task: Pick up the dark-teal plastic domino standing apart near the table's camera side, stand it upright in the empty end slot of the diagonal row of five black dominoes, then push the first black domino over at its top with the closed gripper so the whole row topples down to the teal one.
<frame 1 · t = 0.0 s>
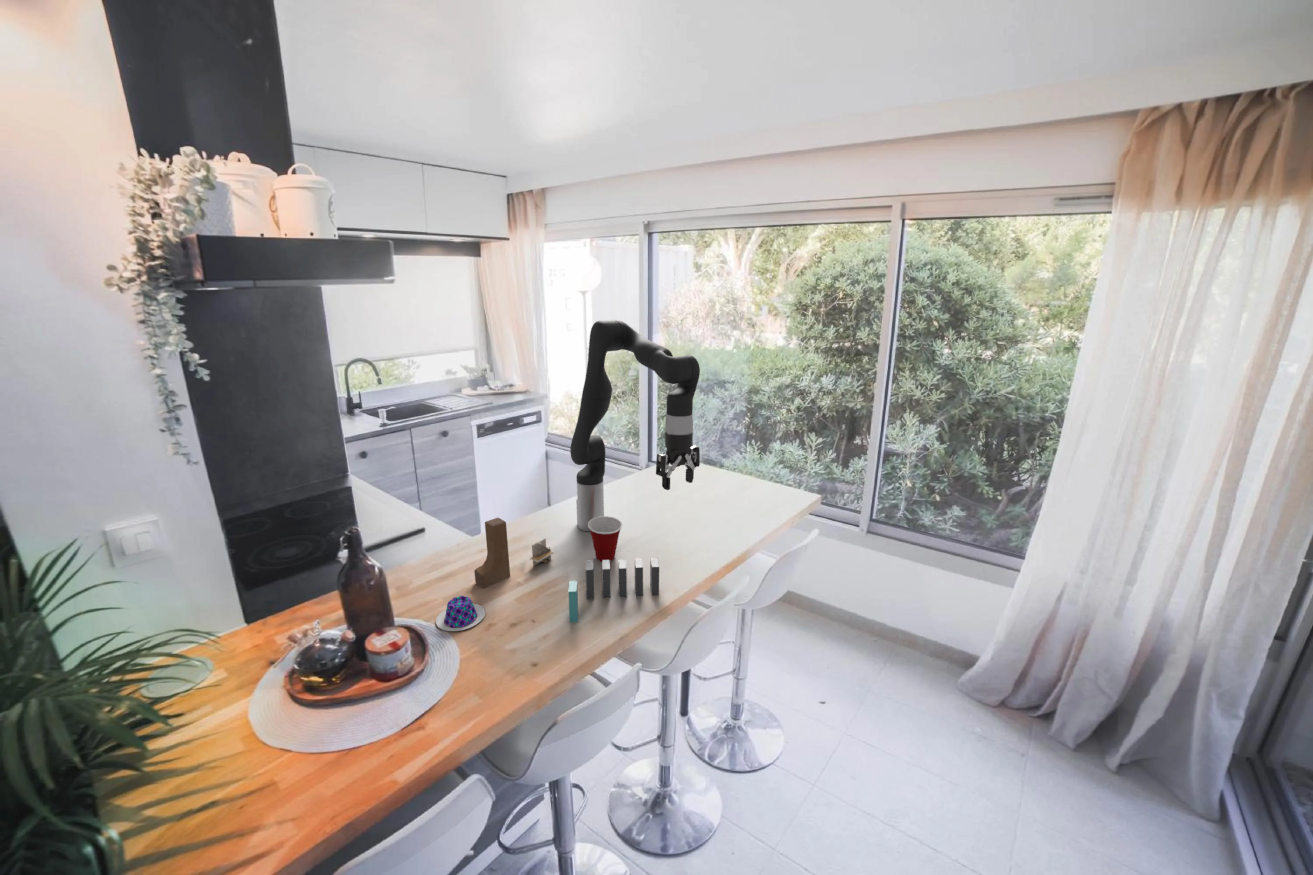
hand: (677, 485, 150), 29 cm above the breakfast bar, fingers open, 8 cm apart
wooden block: (493, 580, 156), on the breakfast bar
domino 5: (590, 593, 150), on the breakfast bar
domino 4: (606, 593, 150), on the breakfast bar
architectural model: (542, 564, 166), on the breakfast bar
plastic cup: (605, 558, 169), on the breakfast bar
domino 1: (654, 590, 151), on the breakfast bar
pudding: (461, 619, 139), on the breakfast bar
domino 2: (638, 591, 151), on the breakfast bar
domino 3: (622, 592, 150), on the breakfast bar
domino 6: (574, 616, 140), on the breakfast bar
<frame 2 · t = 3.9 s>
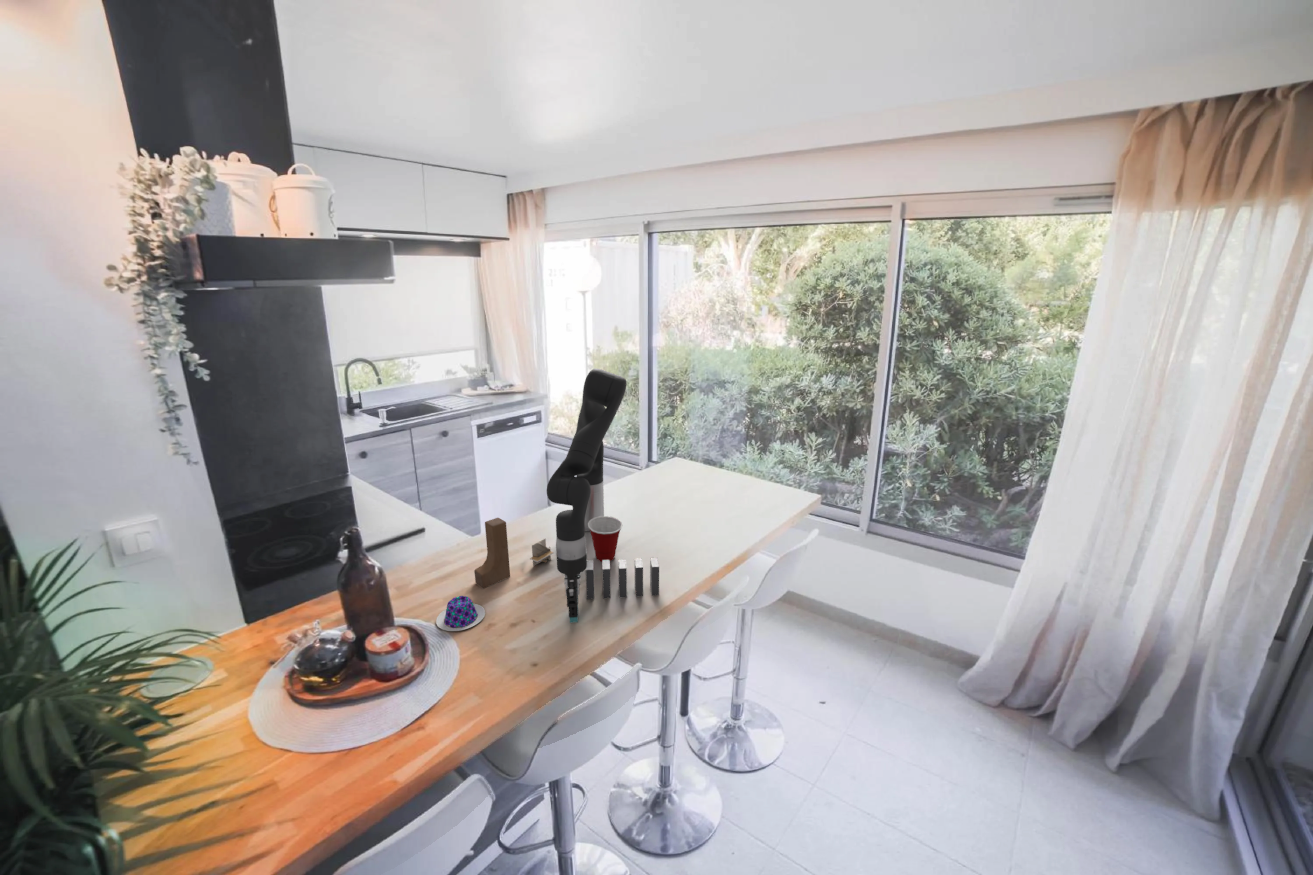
hand: (573, 609, 139), 2 cm above the breakfast bar, fingers closed on domino 6, 5 cm apart
domino 6: (574, 616, 139), on the breakfast bar, touching gripper
everything else where it was.
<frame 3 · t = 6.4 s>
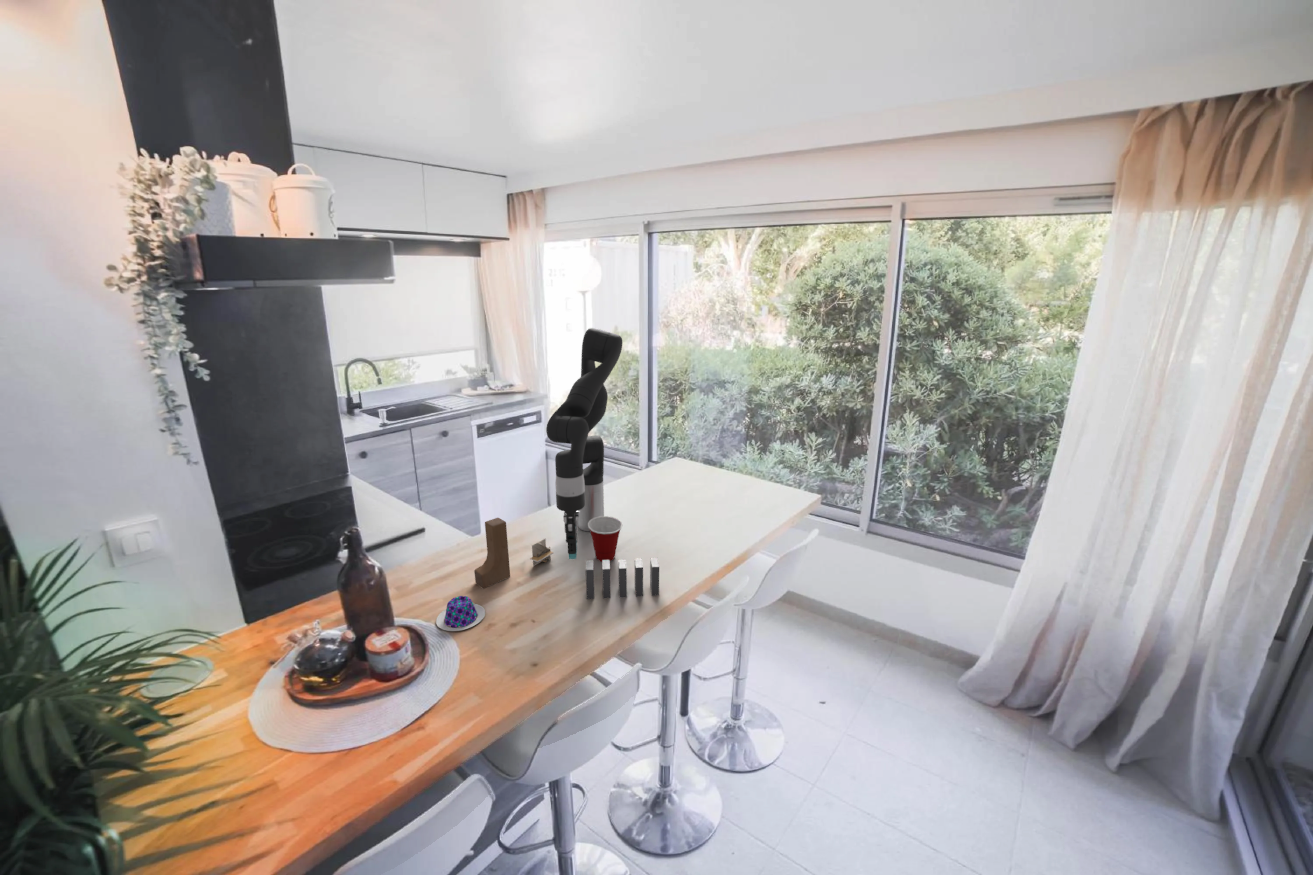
hand: (572, 548, 145), 14 cm above the breakfast bar, fingers closed on domino 6, 5 cm apart
domino 6: (572, 554, 146), point 12 cm above the breakfast bar, touching gripper
everything else where it was.
when the fingers open (3 cm above the breakfast bar, at t = 8.9 s): domino 6 stays where it is, on the breakfast bar.
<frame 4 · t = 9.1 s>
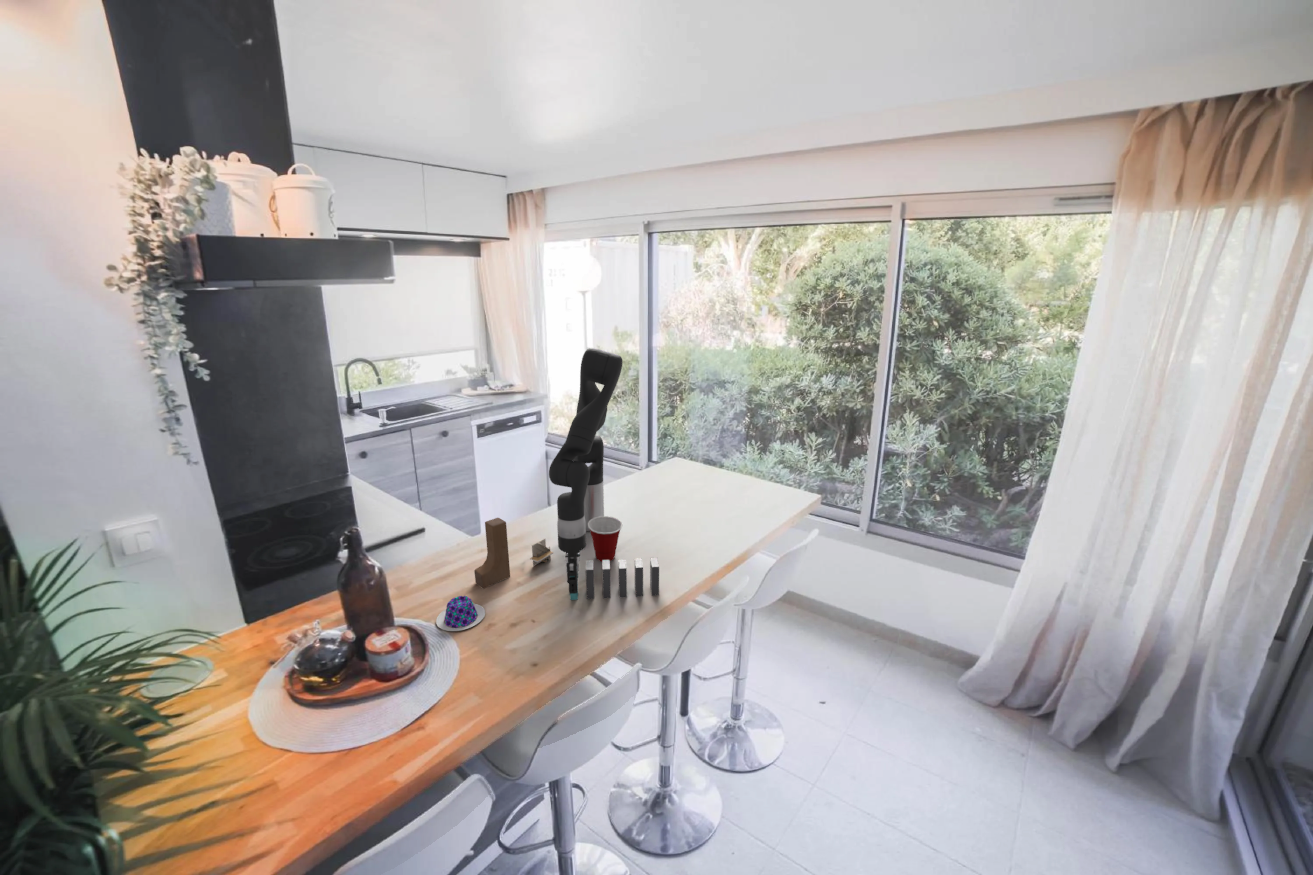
hand: (573, 585, 148), 3 cm above the breakfast bar, fingers open, 7 cm apart
domino 6: (574, 594, 149), on the breakfast bar
everything else where it was.
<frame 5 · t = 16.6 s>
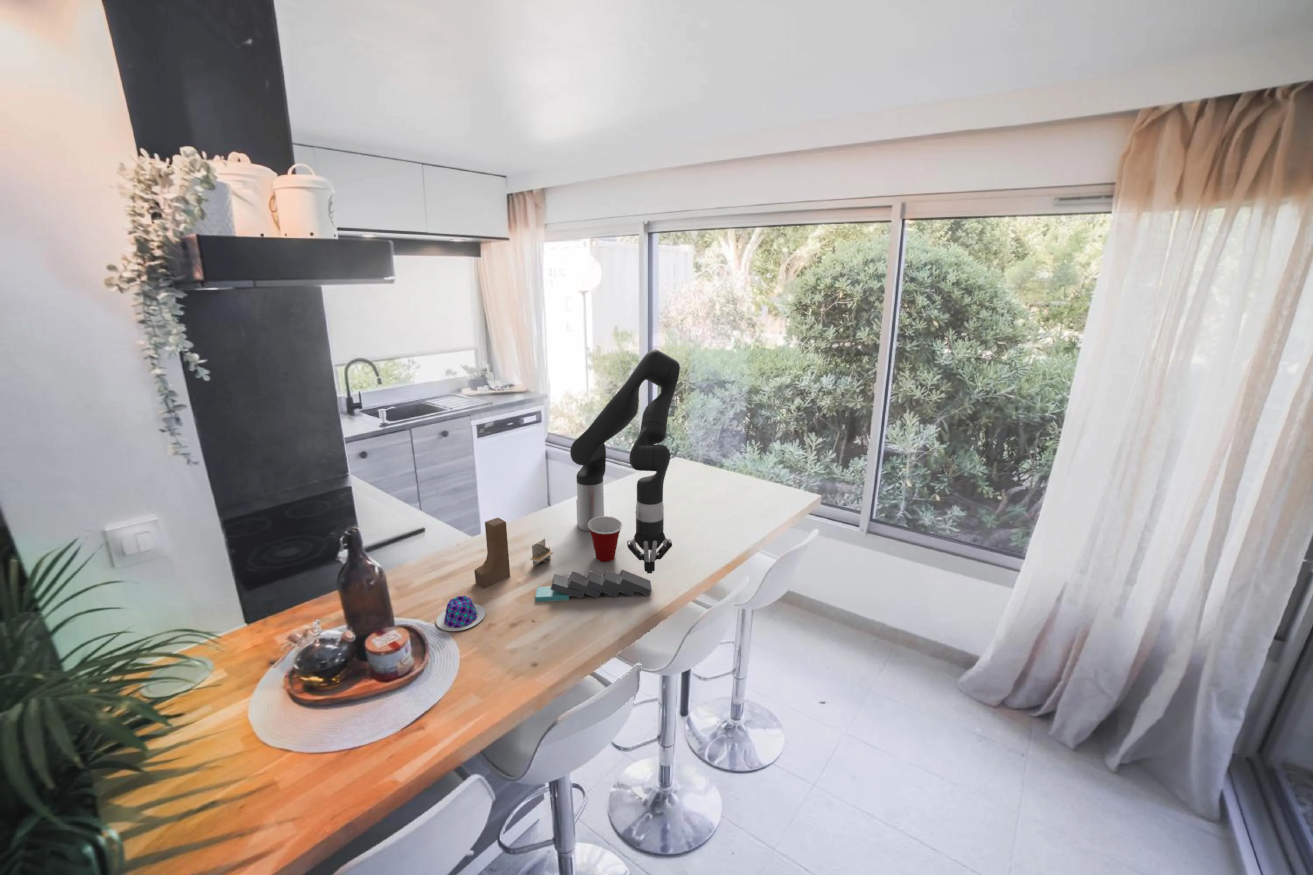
hand: (649, 571, 150), 6 cm above the breakfast bar, fingers closed
domino 5: (583, 590, 149), point 1 cm above the breakfast bar, tilted 69°, touching domino 4
domino 4: (599, 590, 150), point 1 cm above the breakfast bar, tilted 63°, touching domino 5
domino 1: (649, 588, 151), point 1 cm above the breakfast bar, tilted 64°, touching domino 2
domino 2: (633, 588, 151), point 1 cm above the breakfast bar, tilted 64°, touching domino 1, domino 3
domino 3: (617, 589, 150), point 1 cm above the breakfast bar, tilted 64°, touching domino 2
domino 6: (569, 593, 149), on the breakfast bar, tilted 90°
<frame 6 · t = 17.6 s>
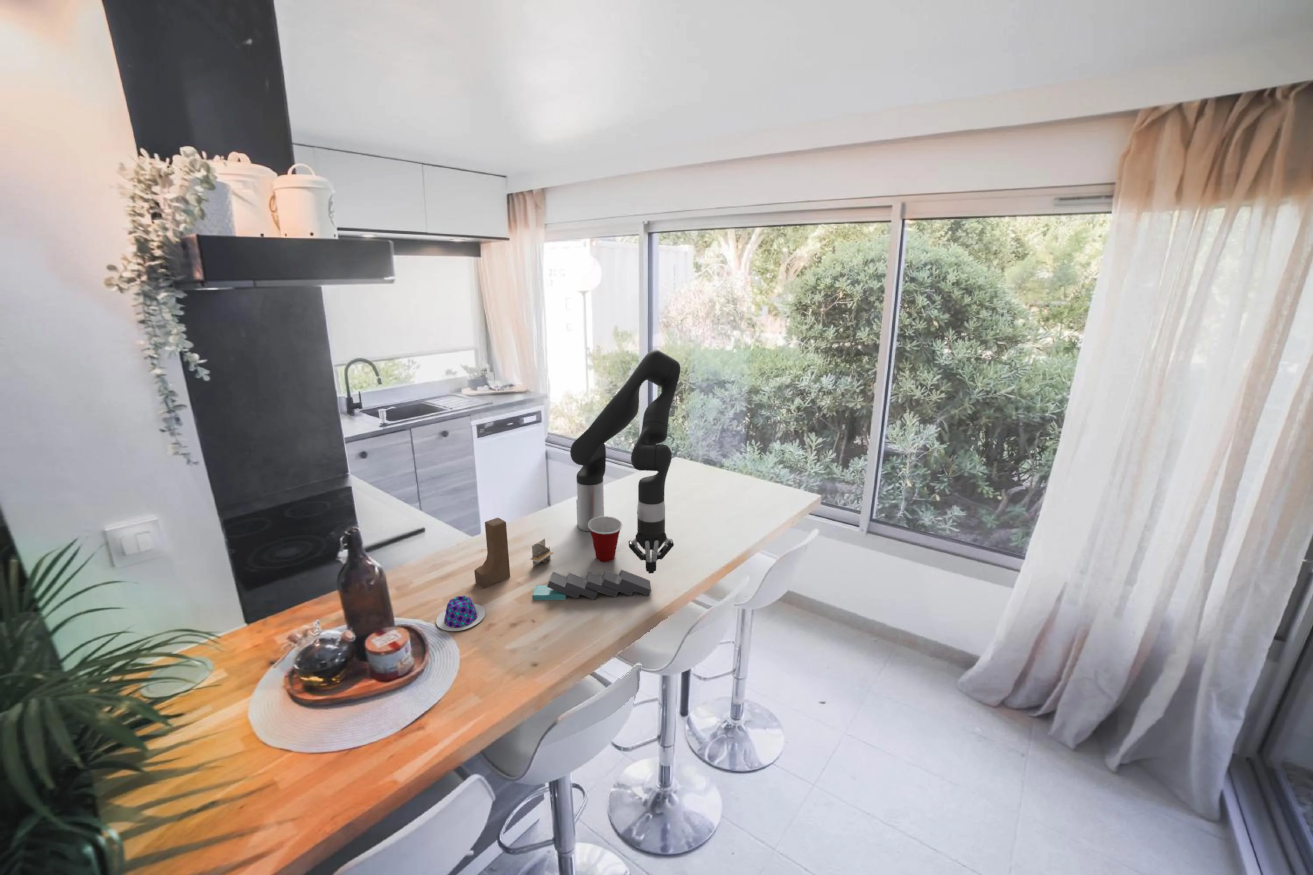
hand: (650, 571, 150), 6 cm above the breakfast bar, fingers closed
domino 5: (580, 591, 149), point 1 cm above the breakfast bar, tilted 66°, touching domino 4, domino 6
domino 6: (566, 592, 149), on the breakfast bar, tilted 90°, touching domino 5
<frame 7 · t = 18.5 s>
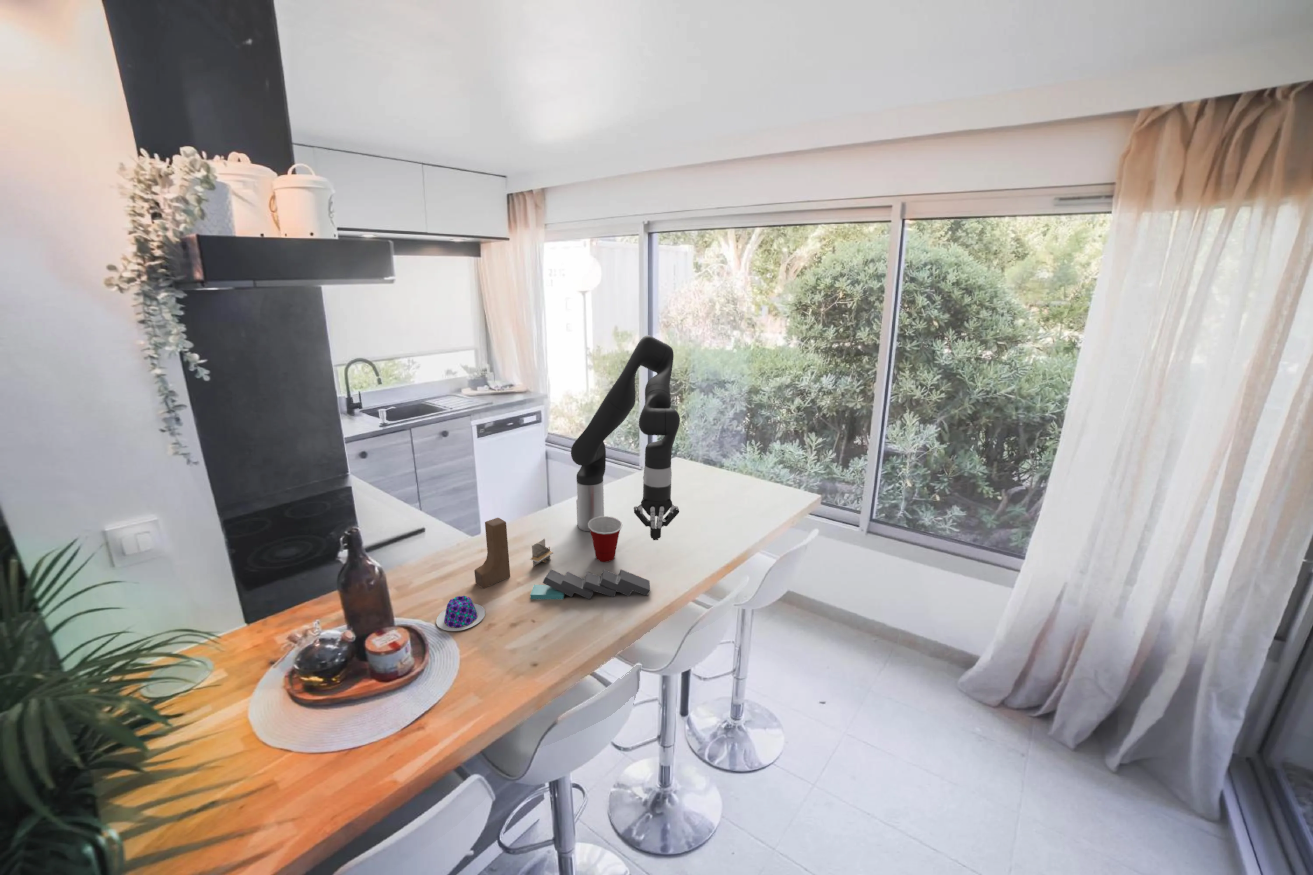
hand: (655, 538, 149), 15 cm above the breakfast bar, fingers closed
domino 5: (575, 589, 149), point 1 cm above the breakfast bar, tilted 66°, touching domino 4, domino 6
domino 4: (593, 591, 149), point 1 cm above the breakfast bar, tilted 66°, touching domino 5
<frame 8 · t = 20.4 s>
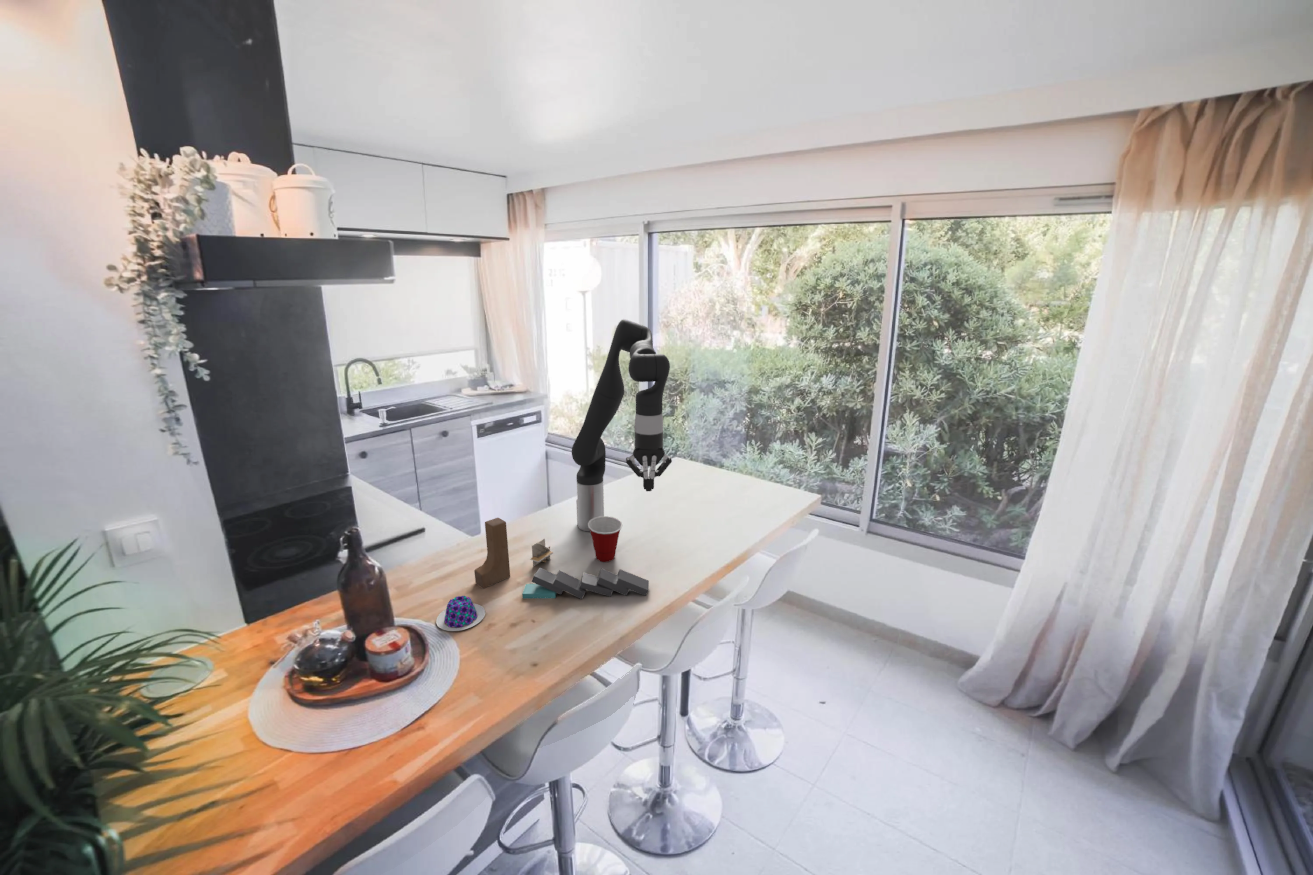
hand: (648, 490, 147), 29 cm above the breakfast bar, fingers closed
domino 5: (565, 587, 150), point 2 cm above the breakfast bar, tilted 70°, touching domino 4, domino 6
domino 4: (584, 591, 149), point 1 cm above the breakfast bar, tilted 62°, touching domino 3, domino 5
domino 3: (612, 588, 151), point 1 cm above the breakfast bar, tilted 72°, touching domino 2, domino 4
domino 6: (556, 591, 150), on the breakfast bar, tilted 90°, touching domino 5
at the end: domino 6 tilted 90°; domino 1 tilted 66°; domino 6 inside the target area (4.7 cm from its centre), on the breakfast bar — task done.
